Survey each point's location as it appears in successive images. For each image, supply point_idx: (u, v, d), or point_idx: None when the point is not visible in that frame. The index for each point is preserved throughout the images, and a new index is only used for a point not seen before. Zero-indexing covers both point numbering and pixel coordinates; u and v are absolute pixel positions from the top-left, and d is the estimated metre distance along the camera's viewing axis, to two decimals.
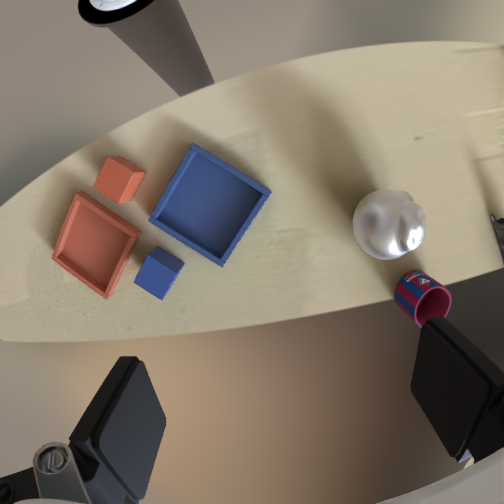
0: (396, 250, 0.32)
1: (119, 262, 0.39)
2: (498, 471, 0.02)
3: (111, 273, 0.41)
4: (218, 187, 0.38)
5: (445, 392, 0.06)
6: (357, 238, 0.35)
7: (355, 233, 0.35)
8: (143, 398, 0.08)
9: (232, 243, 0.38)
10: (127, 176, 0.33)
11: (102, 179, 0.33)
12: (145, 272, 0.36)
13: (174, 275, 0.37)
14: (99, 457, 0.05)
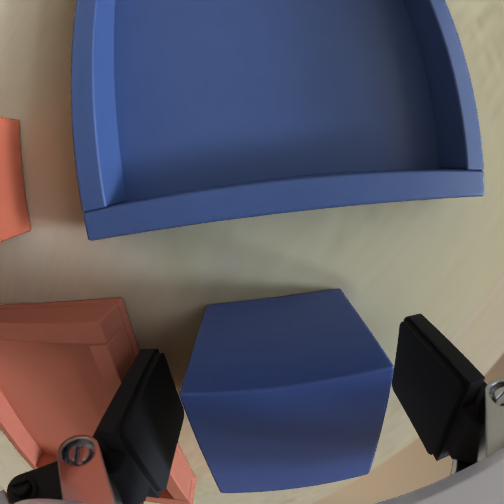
0: None
1: None
2: (498, 471, 0.02)
3: None
4: None
5: (422, 389, 0.07)
6: None
7: None
8: (165, 389, 0.08)
9: (459, 83, 0.06)
10: None
11: None
12: (233, 456, 0.06)
13: (384, 383, 0.05)
14: (126, 448, 0.05)
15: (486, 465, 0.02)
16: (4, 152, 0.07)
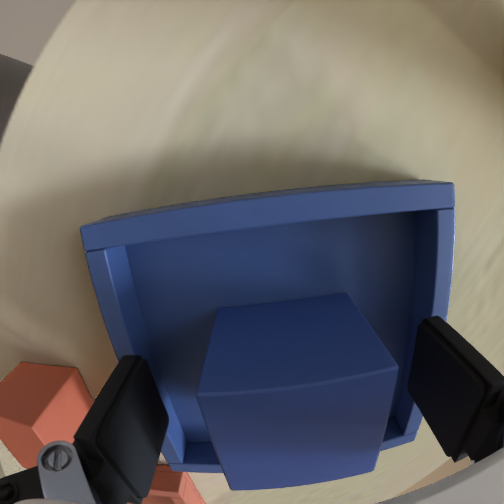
0: None
1: None
2: (498, 471, 0.02)
3: None
4: (275, 291, 0.10)
5: (441, 392, 0.06)
6: None
7: None
8: (147, 397, 0.08)
9: None
10: (33, 438, 0.07)
11: (16, 452, 0.08)
12: (245, 454, 0.06)
13: (390, 383, 0.06)
14: (103, 455, 0.05)
15: (486, 465, 0.02)
16: (79, 402, 0.11)
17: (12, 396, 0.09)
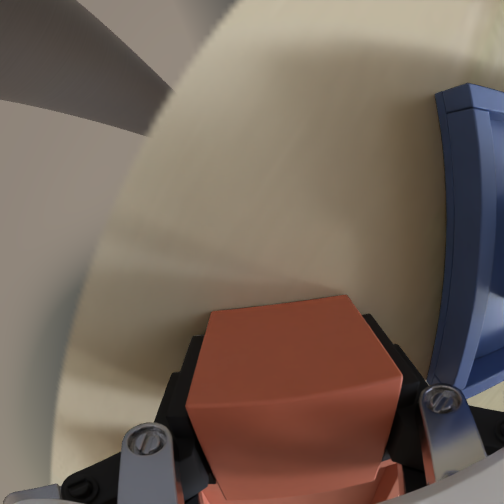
0: None
1: (390, 496, 0.11)
2: (498, 471, 0.02)
3: (363, 502, 0.13)
4: None
5: None
6: None
7: None
8: None
9: None
10: (375, 410, 0.05)
11: (247, 477, 0.06)
12: None
13: None
14: None
15: (486, 465, 0.02)
16: None
17: (277, 357, 0.07)
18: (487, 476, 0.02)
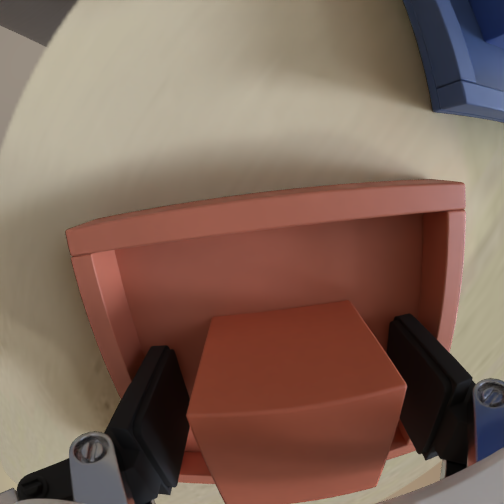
0: None
1: (440, 339, 0.08)
2: (498, 471, 0.02)
3: None
4: None
5: (411, 388, 0.07)
6: None
7: None
8: (175, 386, 0.08)
9: None
10: (378, 419, 0.05)
11: (248, 485, 0.06)
12: None
13: None
14: (139, 444, 0.06)
15: (486, 465, 0.02)
16: None
17: (279, 365, 0.06)
18: (487, 476, 0.02)
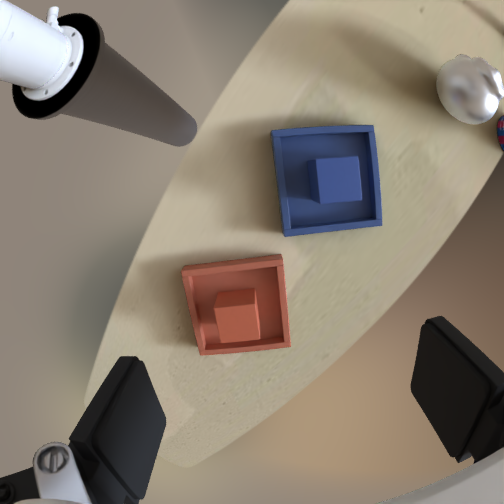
0: (495, 104, 0.22)
1: (281, 300, 0.34)
2: (498, 471, 0.02)
3: (276, 319, 0.37)
4: (324, 156, 0.32)
5: (445, 392, 0.06)
6: (461, 116, 0.26)
7: (457, 113, 0.26)
8: (143, 398, 0.08)
9: (376, 196, 0.31)
10: (251, 311, 0.31)
11: (225, 330, 0.32)
12: (325, 181, 0.28)
13: (357, 160, 0.27)
14: (99, 457, 0.05)
15: (486, 465, 0.02)
16: (256, 302, 0.35)
17: (232, 300, 0.33)
18: (487, 476, 0.02)
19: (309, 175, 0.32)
